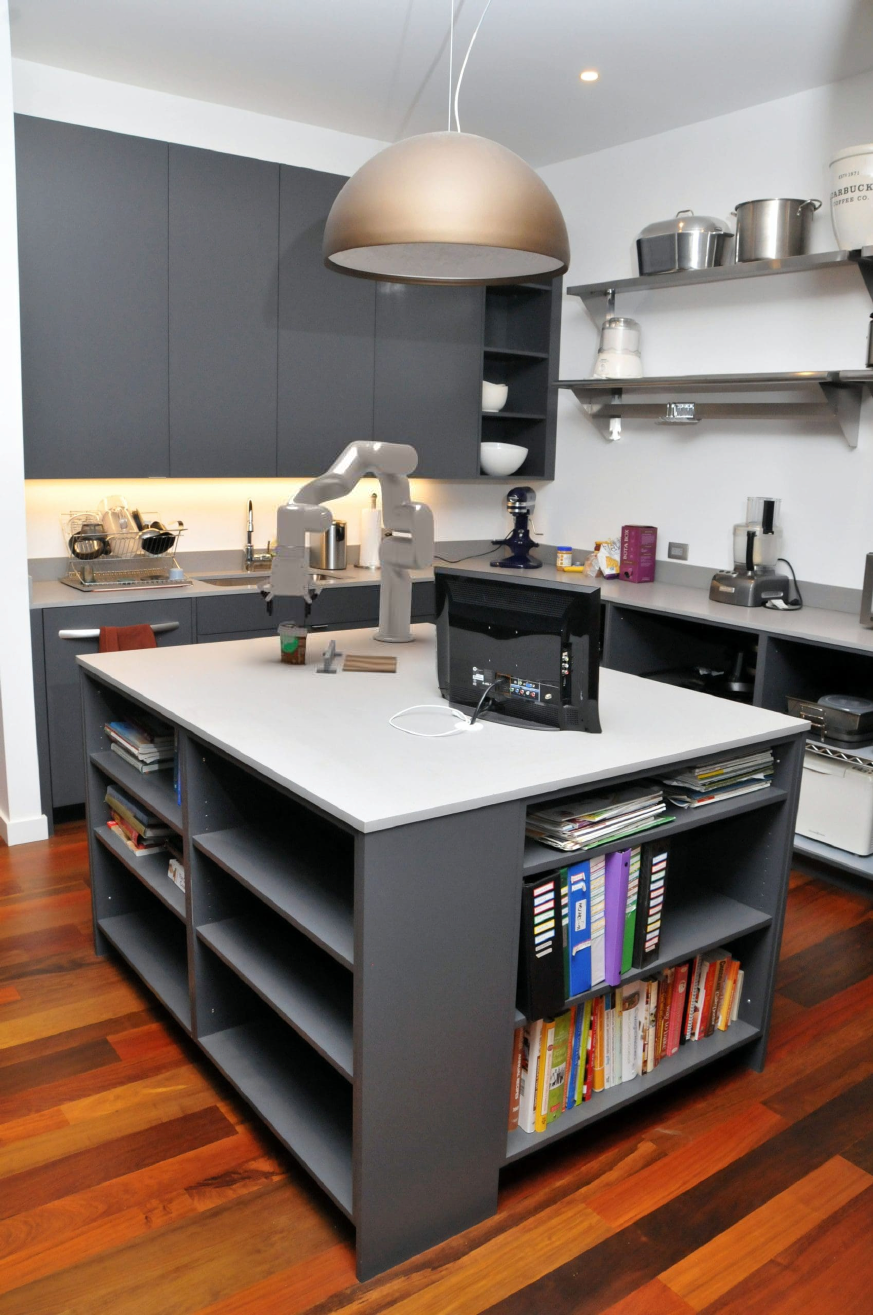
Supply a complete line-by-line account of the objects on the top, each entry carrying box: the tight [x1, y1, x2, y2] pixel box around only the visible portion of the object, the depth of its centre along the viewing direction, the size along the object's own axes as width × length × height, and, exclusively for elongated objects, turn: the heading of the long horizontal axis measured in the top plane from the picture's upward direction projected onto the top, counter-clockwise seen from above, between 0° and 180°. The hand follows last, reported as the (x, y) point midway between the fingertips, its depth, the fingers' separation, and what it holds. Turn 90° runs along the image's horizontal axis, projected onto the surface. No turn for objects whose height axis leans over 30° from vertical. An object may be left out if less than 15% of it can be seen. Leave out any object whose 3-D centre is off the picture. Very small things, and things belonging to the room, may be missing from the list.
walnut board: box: [342, 654, 397, 674], centre depth 272 cm, size 18×14×1 cm
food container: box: [277, 620, 308, 666], centre depth 270 cm, size 12×6×10 cm, turn 25°
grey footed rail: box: [316, 639, 343, 674], centre depth 271 cm, size 24×5×4 cm, turn 2°
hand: (288, 616), depth 268 cm, fingers open, 9 cm apart
